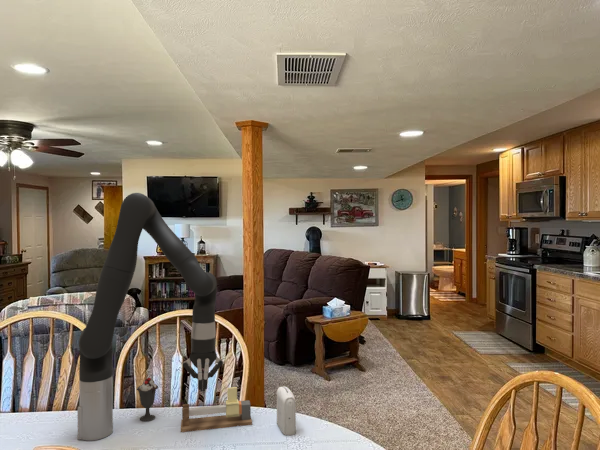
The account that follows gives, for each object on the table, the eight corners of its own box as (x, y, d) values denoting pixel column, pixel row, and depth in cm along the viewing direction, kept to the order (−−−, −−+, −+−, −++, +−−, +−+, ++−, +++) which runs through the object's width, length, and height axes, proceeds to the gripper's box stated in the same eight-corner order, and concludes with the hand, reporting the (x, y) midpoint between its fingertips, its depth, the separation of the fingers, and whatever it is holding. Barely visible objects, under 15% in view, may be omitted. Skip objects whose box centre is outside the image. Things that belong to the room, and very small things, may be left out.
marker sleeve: (226, 417, 141) (226, 390, 141) (225, 412, 145) (225, 386, 145) (239, 416, 142) (238, 389, 142) (238, 411, 146) (237, 385, 146)
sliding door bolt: (184, 426, 138) (183, 410, 138) (184, 421, 142) (184, 405, 142) (250, 419, 143) (250, 403, 143) (249, 414, 146) (249, 399, 146)
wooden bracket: (180, 432, 136) (180, 411, 136) (181, 422, 143) (181, 402, 143) (252, 424, 141) (252, 404, 141) (249, 415, 148) (249, 396, 148)
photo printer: (297, 434, 134) (297, 393, 134) (283, 436, 133) (283, 395, 133) (288, 420, 144) (287, 382, 144) (275, 422, 143) (275, 383, 143)
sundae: (144, 424, 142) (144, 377, 142) (132, 419, 146) (132, 373, 146) (162, 417, 147) (162, 372, 147) (150, 412, 151) (150, 368, 151)
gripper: (181, 339, 136) (180, 396, 136) (225, 337, 139) (224, 393, 139) (182, 333, 143) (181, 387, 143) (224, 332, 146) (223, 385, 146)
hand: (202, 390), depth 141 cm, fingers closed
